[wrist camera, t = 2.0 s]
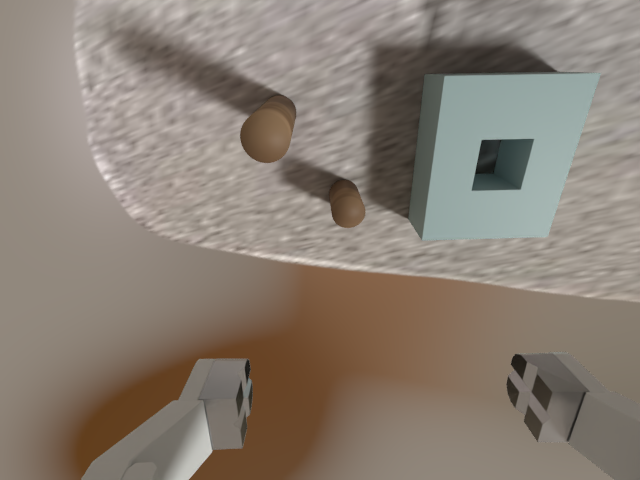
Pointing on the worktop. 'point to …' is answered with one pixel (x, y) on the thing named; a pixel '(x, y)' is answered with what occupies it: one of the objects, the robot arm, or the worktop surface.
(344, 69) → the worktop surface
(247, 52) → the worktop surface
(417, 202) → the hole block
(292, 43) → the worktop surface
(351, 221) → the short dowel
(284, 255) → the worktop surface
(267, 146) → the long dowel
